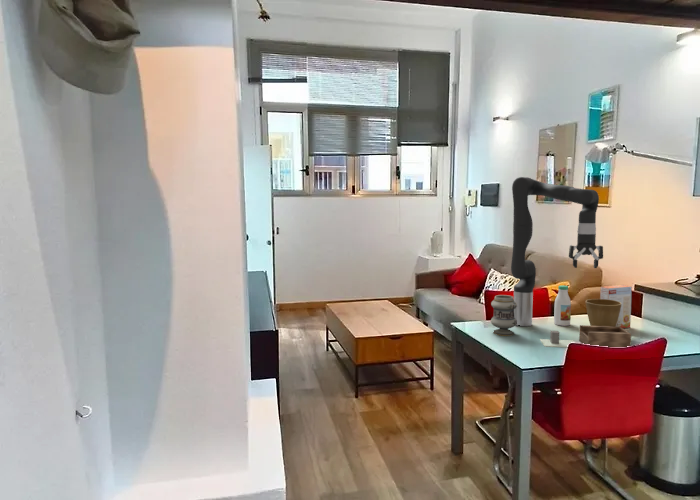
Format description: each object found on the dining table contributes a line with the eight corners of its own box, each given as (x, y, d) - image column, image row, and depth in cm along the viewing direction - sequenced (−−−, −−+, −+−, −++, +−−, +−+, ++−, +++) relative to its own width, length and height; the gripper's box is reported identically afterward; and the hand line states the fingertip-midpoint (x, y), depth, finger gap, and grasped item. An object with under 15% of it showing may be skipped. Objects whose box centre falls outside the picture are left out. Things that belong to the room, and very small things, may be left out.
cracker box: (620, 325, 242) (622, 284, 240) (630, 327, 236) (632, 286, 235) (598, 327, 239) (600, 285, 237) (607, 330, 233) (609, 287, 231)
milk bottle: (553, 325, 243) (555, 286, 241) (553, 321, 250) (555, 284, 248) (570, 326, 240) (571, 287, 238) (569, 323, 247) (571, 285, 245)
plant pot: (587, 329, 234) (588, 297, 233) (621, 333, 226) (623, 300, 224) (581, 336, 222) (583, 302, 221) (618, 341, 213) (619, 306, 212)
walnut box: (588, 349, 202) (588, 332, 202) (579, 340, 215) (579, 325, 214) (630, 350, 199) (631, 334, 199) (618, 342, 212) (619, 326, 211)
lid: (544, 347, 207) (544, 334, 206) (539, 341, 217) (540, 328, 216) (580, 349, 204) (580, 335, 203) (573, 342, 214) (574, 329, 213)
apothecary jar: (489, 329, 236) (490, 293, 234) (514, 330, 233) (515, 294, 232) (491, 336, 224) (492, 298, 222) (518, 337, 222) (519, 299, 220)
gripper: (572, 233, 216) (571, 268, 218) (606, 233, 214) (604, 269, 215) (567, 232, 224) (566, 266, 225) (600, 232, 221) (599, 267, 223)
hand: (585, 267), depth 220 cm, fingers open, 8 cm apart
